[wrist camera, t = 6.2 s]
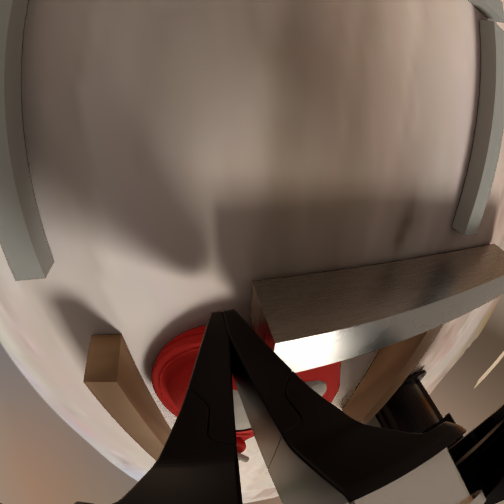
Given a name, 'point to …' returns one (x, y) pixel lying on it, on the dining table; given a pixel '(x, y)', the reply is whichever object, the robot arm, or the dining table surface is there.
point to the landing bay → (20, 186)
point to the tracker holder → (181, 367)
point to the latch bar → (371, 304)
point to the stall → (155, 426)
